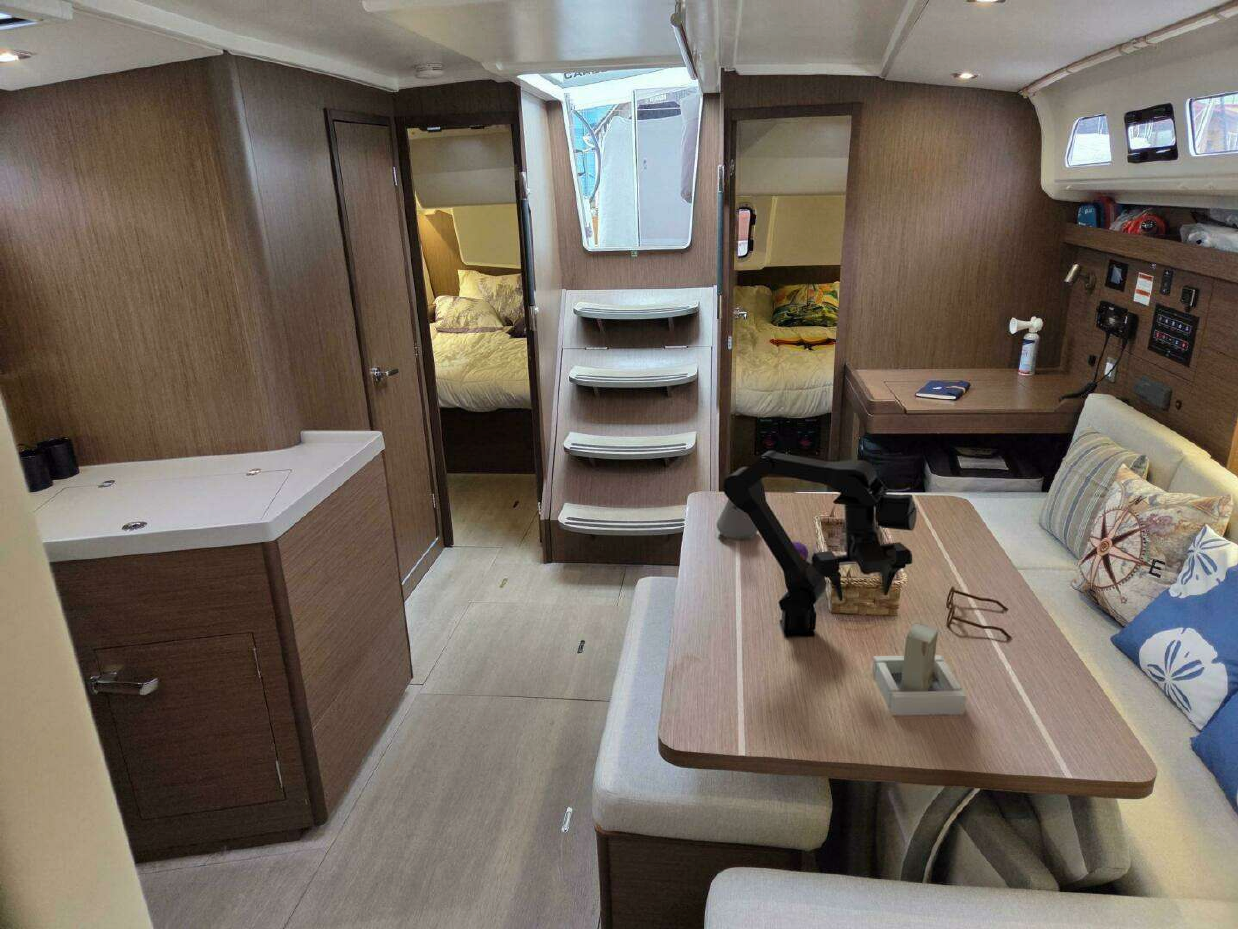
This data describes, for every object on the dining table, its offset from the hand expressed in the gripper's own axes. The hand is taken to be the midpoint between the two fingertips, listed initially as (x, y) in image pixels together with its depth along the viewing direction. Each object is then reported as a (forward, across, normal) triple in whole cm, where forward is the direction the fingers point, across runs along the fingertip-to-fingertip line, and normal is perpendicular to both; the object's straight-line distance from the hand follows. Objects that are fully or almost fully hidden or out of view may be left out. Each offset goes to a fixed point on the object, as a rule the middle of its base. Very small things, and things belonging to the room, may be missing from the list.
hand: (862, 597), depth 163 cm
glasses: (+14, +29, +10) cm, 34 cm away
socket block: (+14, +5, -14) cm, 21 cm away
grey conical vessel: (+6, -16, +54) cm, 56 cm away
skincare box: (+13, +5, -14) cm, 20 cm away
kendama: (+9, -5, +34) cm, 35 cm away
